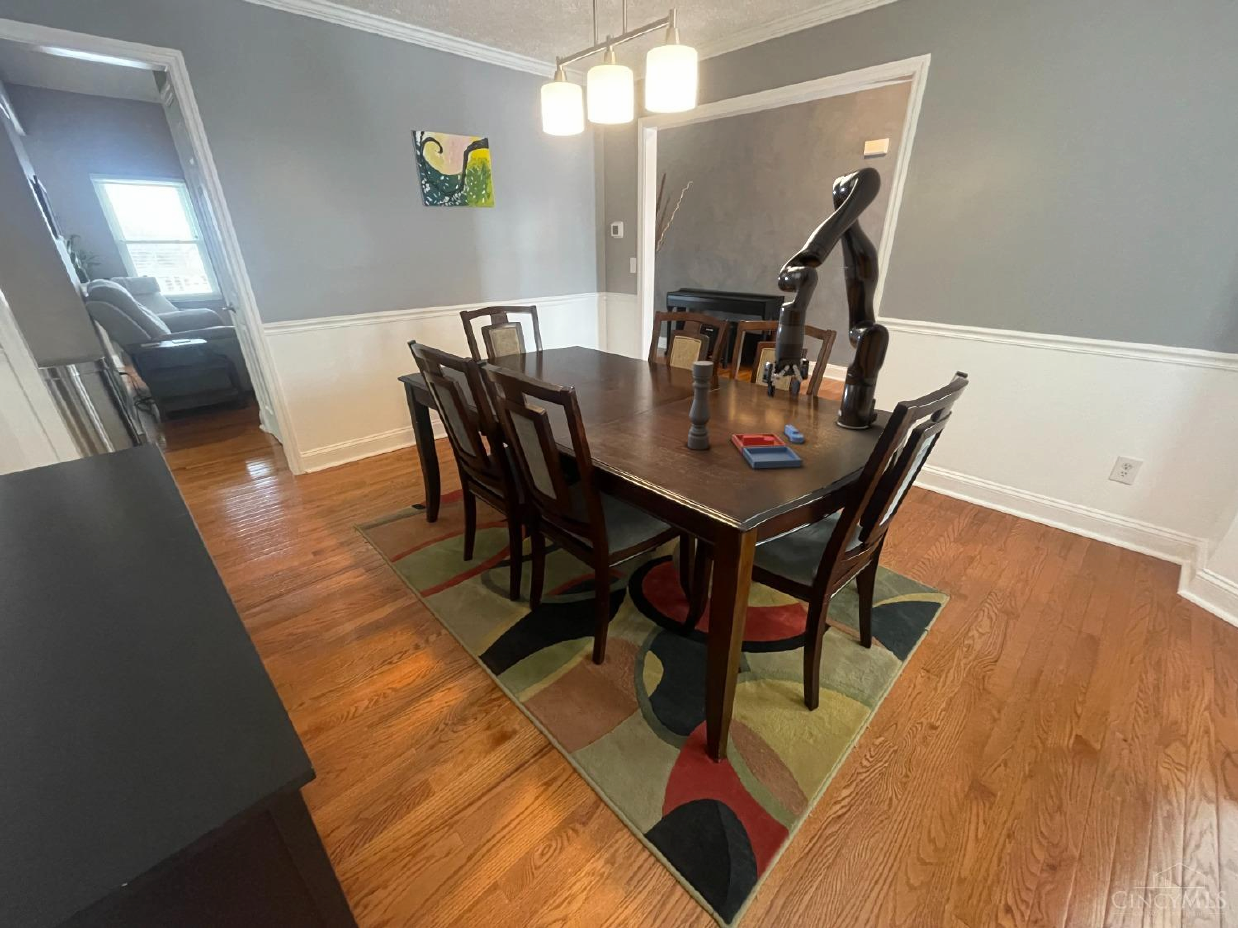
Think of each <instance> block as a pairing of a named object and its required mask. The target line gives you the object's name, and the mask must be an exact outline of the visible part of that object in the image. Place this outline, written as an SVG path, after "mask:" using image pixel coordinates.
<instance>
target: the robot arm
mask: <svg viewBox="0 0 1238 928" xmlns="http://www.w3.org/2000/svg"><path fill="white" fill-rule="evenodd" d="M881 186H882V179H881V175H880V172H879V171H878V170H877V169H876V168H875V167H872V166H867V167H862V168H858V169H856V170H853V171H850V172H847V173H844V174H842V175H840V176H838V177H837V178H836V179H835V181H834V183H833V187H832V203H833V207H834V212H833V213H832V214H831V215H830V216H829V217H827V218H826V219H825V220H824V221H823V222H822V223H821V224H820V225H819V226H818V227H816V229H815V230H813V232H812V234H811V235H810V237H809V238H808V239H807V241H806V242H805V244H804V246H803V247H802V248H801V249H800V251H798V252H797V253H796V254H795V255H793V256H792V258H790V259H789V260H788V261H787V262H786V263H785V264H784V265H783V267H782V268H781V269H780V271H779V273H778V274H777V275H778V276H777V281H776V283H777V287H778V289H779V290H780V291H781V292H784V293H791V294H795V297H794V298H793V300H792V301H787V302H783V303H782V304H781V306H780V311H779V320H778V327H777V330H776V338H775V345H774V346H775V347H774V361H773V362H769V361H765V362H764V365H763V372H762V377H761V378H762V379H761V382H762V383H764V384H766V385H767V388H766V395H767V397H769V398H772V399H773V398H775V394H776V384H777V383H778V381H779V380H781V379H782V378H785V377H792V379H793V381H792V387H791V394H792V395H795V396H798V395H799V393H800V392H801V385H802V382H803V381H807V380H808V378H809V370H810V360H809V359H806V358H802V356H803V350H804V343H805V336H806V335H805V334H806V320H807V312H808V308H809V306H810V303H811V301H812V299H813V296H814V293H815V291H816V289H817V286H818V282H819V274H818V271H817V269H818V268H819V267H821V266H822V265H823V264H824V263H825V262H826V260H827V259H828V257H829V256H830V254H831V253H832V252H833V250H834V248H835V247H836V246H837V244H838V242H839V241H840V246H841V247H840V248H841V253H842V254H841V255H842V263H843V264H842V266H843V267H842V269H843V277H844V283H845V292H846V300H847V306H848V340H849V343H850V345H851V347H852V348H853V349H855V354H854V358H853V361H852V362H850V363H848V365H847V367H846V373H845V379H844V385H843V390H842V395H841V401H840V406H839V409H838V412H837V413H838V417H837V422H836V424H837V425H838V426H840V427H842V428H845V429H848V430H866V429H870V428H871V426H872V424H873V423H875V422H876V421H877V419H878V415H879V413H878V412H875V407H876V402H877V400H876V398H875V393H876V387H877V384H878V383H877V382H878V378H879V373H880V372H881V369H882V368H883V366H884V363H885V359H886V355H887V352H888V347H889V343H890V332H889V330H888V328H887V327H886V326H885V325H883V324H882V323H881V324H880V323H877V321H876V316H875V310H874V299H875V294H876V291H877V288H878V285H879V284H878V283H879V279H880V268H879V255H878V250H877V248H876V246H875V245H874V243H873V242H872V241H871V239H870V238H869V237H868V235H867V233H866V232H865V231H864V229H863V228H862V226H861V222H860V219H859V217H861V215H862V214H863V213H864V212H865V211H866V210H867V208H868V207H869V206H871V204H872V203H873V202H874V201H875V200H876V198H877V196H878V195H879V193H880V191H881ZM816 268H817V269H816ZM798 368H799V369H798Z"/></svg>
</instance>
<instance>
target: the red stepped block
mask: <svg viewBox="0 0 1238 928" xmlns="http://www.w3.org/2000/svg"><path fill="white" fill-rule="evenodd" d="M742 444H743V446H749V445H774V438H773V437H770V436H763V435H747V436H743V438H742Z"/></svg>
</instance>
